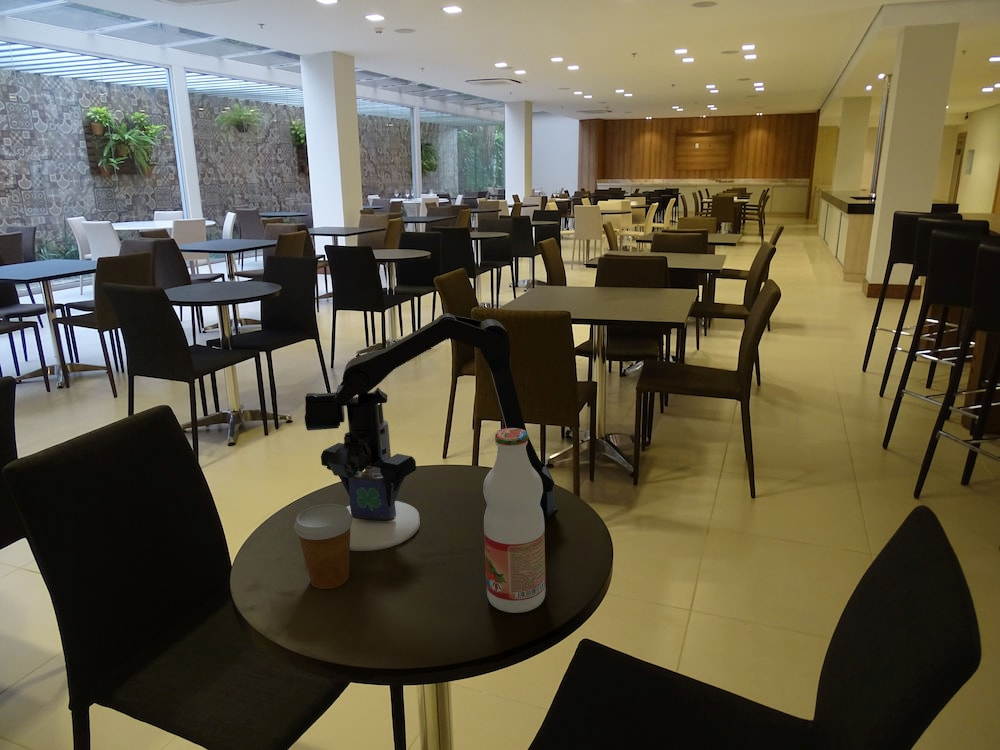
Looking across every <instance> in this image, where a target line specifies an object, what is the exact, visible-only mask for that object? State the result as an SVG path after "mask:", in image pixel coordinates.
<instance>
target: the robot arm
mask: <svg viewBox="0 0 1000 750" xmlns="http://www.w3.org/2000/svg"><path fill="white" fill-rule="evenodd" d="M449 339H450V340H454V341H456V342H459V343H462V344H465V345H466V346H467V345H468V346H470V347H474V348H477V349H480V351H481V354H482V356H483V357H484V359H485V362H486V365H487V367H488V368H489V370H490V373H491V378H492V381H493V387H494V389H495V392H496V393H495V394H496V395H497V400H498V403H499V407H500V411H501V415H502V418H503V423H504V426H505V429H506V428H519V429H523V430H525V431H526V432H527V435H528V431H527V428H526V424H525V420H524V415H523V412H522V408H521V404H520V401H519V396H518V393H517V389H516V385H515V381H514V378H513V377H514V376H513V374H512V368H511V364H512V363H511V360H512V358H511V356H512V355H511V354H512V353H511V344H510V343H511V342H510V336H509V333H508V331H507V330H506V329H505V327H504V326H503V324H502V323H501V322H500V321H497V320H496V319H493V318H492V319H491V318H487V319H485V320H478V319H476V318H475V319H474V318H469V317H465V316H464V317H463V316H459V315H458V316H457V315H453V314H452V313H442V314H441V315H439V316H438V317H437V318H436V319H434V320H431V322H428V323H427V324H425V325H422V327H420V328H418V329H417V330H415V331H413V332H411V333H410V334H408V335H406V336H404V337H402V338H401V339H399V340H397V341H395V342H394V343H391V344H390V345H388V346H387V347H385V348H381V349H379V350H375V351H370V352H367V353H363V354H362V355H358V356H357V357H353V358H351V359H350V360H349V361H348V362H347V363H346V365H345V368H344V370H343V375H342V381H341V383H340V385H337V389H336V390H335V392H324V393H322V392H321V393H315V392H310V393H309V392H308V393H306V394H305V397H304V398H305V406H304V407H305V408H304V409H305V410H304V411H305V414H304V424H305V428H306V431H307V432H308V431H320V430H321V431H323V430H333V429H339V427H340V426H341V423H345V420H346V419H345V415H346V414H345V407H346V413H347V424H348V432H345V433H344V437H343V443H342V442H337V443H336V444H333V445H331V446H329V447H327V448H326V449H323V451H322V452H321V454H320V460H321V461H320V462H321V466H323V467H326V469H327V470H328V471H331V472H332V474H333V476H336V477H339V479H340V481H341V483H342V485H343V487H344V489H345V491H346V493H347V494H348V497H349V498H350V493H349V483H348V478H352V477H354V476H355V475H356V472H357V471H360V472H364V471H365V468H366V467H367V466H372V467H377V468H380V472H381V475H382V476H383V478H382V479H381V481H382V482H383V483H385V486H386V496H387V503H388V507H392V506H393V505H394V502H395V501H397V500H396V499H397V497H398V494H399V491H400V488H401V487H402V484H403V482H404V480H405V478H406V477H407V476H409V475H410V474H412V473H413V472H415V471H416V470H417V464H416V463H417V462H416V458H414V457H413V456H412V455H408V454H401V453H396V454H394V455H392V456H391V457H390V458H389V459H386V458H382V455H384V454H385V453H387V452H386V448H384V447H382V445H381V434H383V433H385V429H384V427H380V422H379V411H378V404H379V403H382V404H387V403H388V394H387V393H385V392H384V391H382V390H381V388H380V387H377V386H378V385H380V383H381V382H383V381H384V380H385V379H386V377H388V376H389V375H390V374H391V373H392V372H393V371H394V370H396V369H398V368H399V367H401V366H402V365H404V364H405V363H408V362H409V361H411V360H413V359H415V358H417V357H419V356H420V355H423V354H424V353H425V352H427V351H429V350H431V349H433V348H435V347H436V346H437V345H439V344H441V343H443V342H445V341H447V340H449ZM375 387H377V388H376V389H375V390H374V388H375ZM372 390H373V392H371V391H372ZM526 452H527V455H528V458H529V461H530V463H531V465H532V467H533V468H534V469H535V470H536V472H537V473H538V474H539V476H540V478H541V480H542V486H543V493H542V497H541V501H540V506H541V508H542V511H543V515H544V522H546V521H547V520H548V519H549V518H550V517H551V516H552V515H553V514H554V513H555V512H556V511H557V510H558V506H557V505H555V504H554V503H555V501H554V499H555V497H554V496H555V495H554V486H555V481H554V478H553V477H552V475H551V473H550V471H549V469H548V467H547V465H546V464H545V463H544V462H543V461H542V460H540V459H539V456H538V453H537V452H536V450H535V448H534V445H533V444H532V441H531V439H530V437H529V435H528V443H527V445H526Z"/></svg>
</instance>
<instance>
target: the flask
mask: <svg viewBox="0 0 1000 750" xmlns="http://www.w3.org/2000/svg"><path fill="white" fill-rule="evenodd" d="M373 468H374V467H372V466H371V467H369V466H367V467H366V468H365V469H364V470H363V472H360V471H357V472H356V475H355V476H354V477H352V478H348V483H349V493H350V497H349V506H350V508H351V515H352V517H353V518H355V519H361V520H373V521H389V520H390V521H391V520H394V519H395V518H396V509H395V502H394V505H393V506H392V507H388V503H387V496H386V486H385V483H383V482H382V481H381V479H382V478H383V476H382V475H381V474H376V473H373V470H372V469H373ZM365 470H366V471H365ZM394 517H395V518H394Z"/></svg>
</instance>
